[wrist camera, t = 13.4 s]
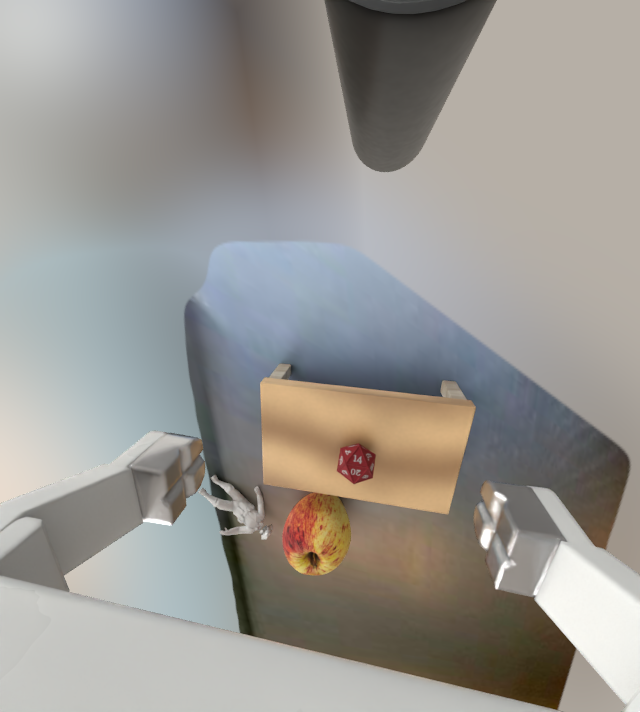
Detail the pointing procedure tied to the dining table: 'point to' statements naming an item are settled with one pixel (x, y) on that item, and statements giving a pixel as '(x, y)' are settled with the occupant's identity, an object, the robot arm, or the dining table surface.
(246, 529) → the soldier figure
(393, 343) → the dining table surface
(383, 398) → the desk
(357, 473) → the dice
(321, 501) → the apple
